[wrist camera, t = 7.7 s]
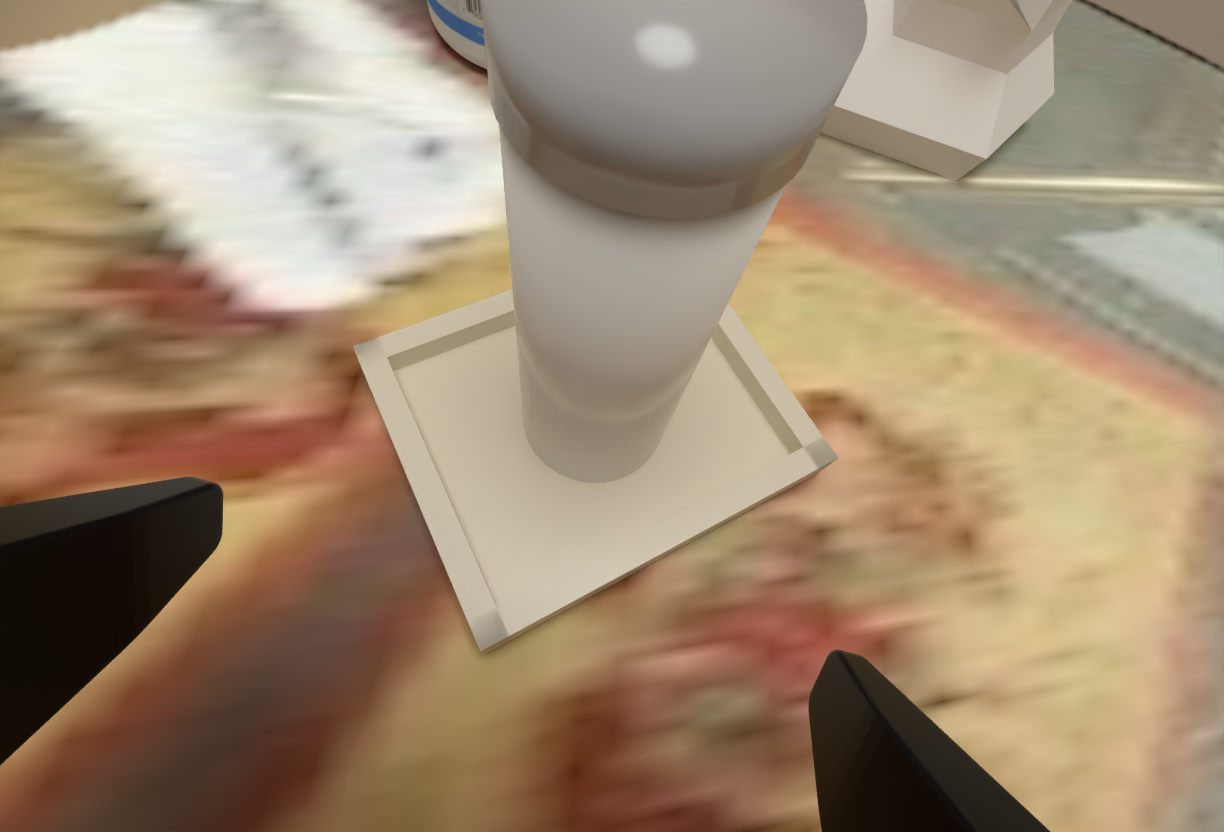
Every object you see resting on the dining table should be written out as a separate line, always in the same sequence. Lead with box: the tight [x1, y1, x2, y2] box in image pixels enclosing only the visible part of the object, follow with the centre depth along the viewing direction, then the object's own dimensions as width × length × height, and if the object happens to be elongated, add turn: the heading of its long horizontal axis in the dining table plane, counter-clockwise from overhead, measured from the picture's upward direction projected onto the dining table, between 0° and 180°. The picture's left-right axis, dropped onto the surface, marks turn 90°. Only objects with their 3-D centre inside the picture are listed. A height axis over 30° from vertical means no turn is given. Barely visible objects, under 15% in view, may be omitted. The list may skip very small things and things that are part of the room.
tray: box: [353, 289, 838, 654], centre depth 19 cm, size 12×10×2 cm
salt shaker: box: [481, 0, 868, 483], centre depth 13 cm, size 5×5×13 cm
